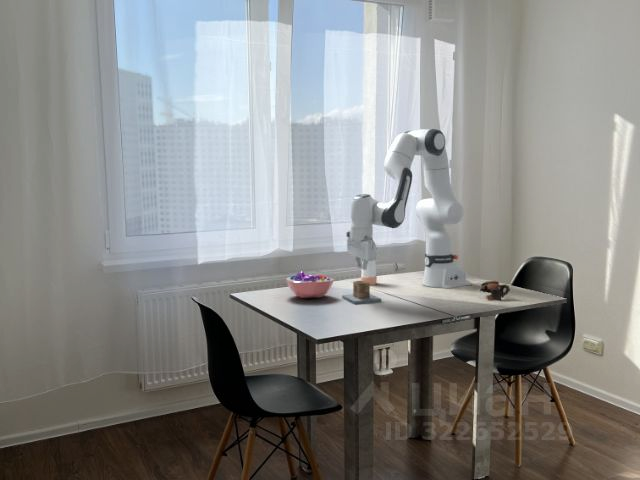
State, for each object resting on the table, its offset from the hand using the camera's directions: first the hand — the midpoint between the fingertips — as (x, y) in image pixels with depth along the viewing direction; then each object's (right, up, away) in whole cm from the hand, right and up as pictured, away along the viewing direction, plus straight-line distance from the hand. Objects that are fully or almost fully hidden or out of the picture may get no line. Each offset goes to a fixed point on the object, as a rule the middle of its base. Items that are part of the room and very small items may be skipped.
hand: (361, 268), depth 262 cm
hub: (0, -13, +2) cm, 13 cm away
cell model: (-21, -13, +6) cm, 25 cm away
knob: (0, -12, +2) cm, 12 cm away
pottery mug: (+55, -13, +4) cm, 57 cm away
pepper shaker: (+5, -9, +34) cm, 35 cm away
